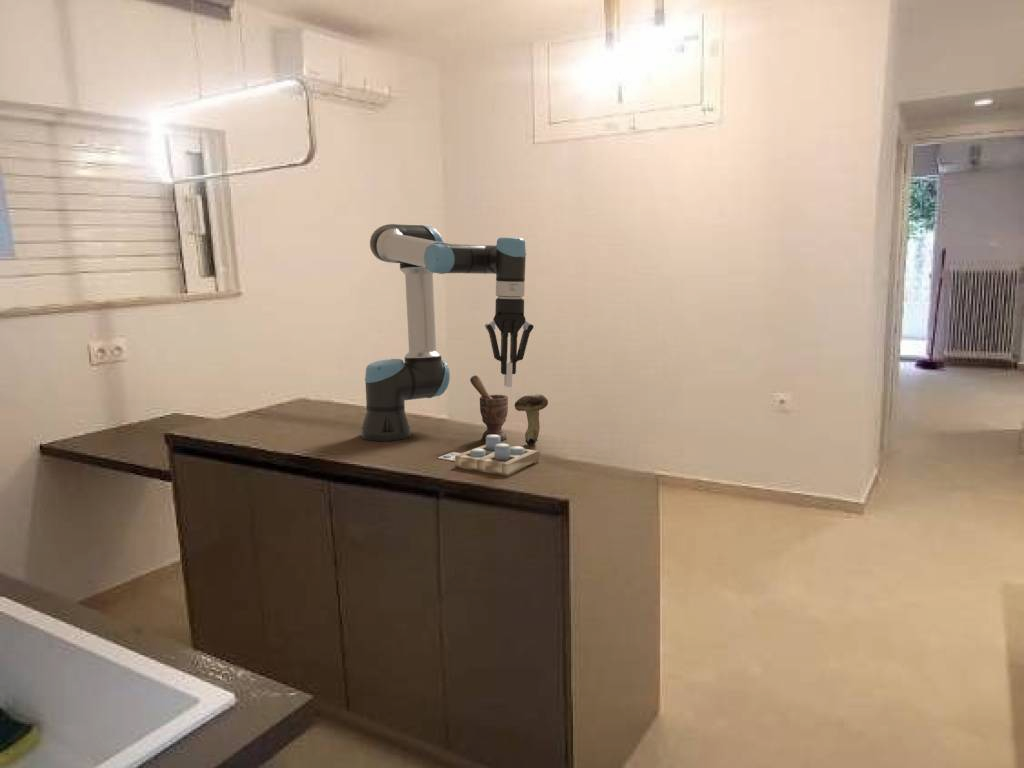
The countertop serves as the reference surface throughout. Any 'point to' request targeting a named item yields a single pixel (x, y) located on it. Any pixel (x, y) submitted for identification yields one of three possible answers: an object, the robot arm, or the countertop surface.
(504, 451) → the button
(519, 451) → the button
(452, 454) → the card
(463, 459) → the wooden compartment tray
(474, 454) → the button
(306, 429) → the countertop surface
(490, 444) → the button
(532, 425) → the mushroom
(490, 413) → the mortar and pestle
